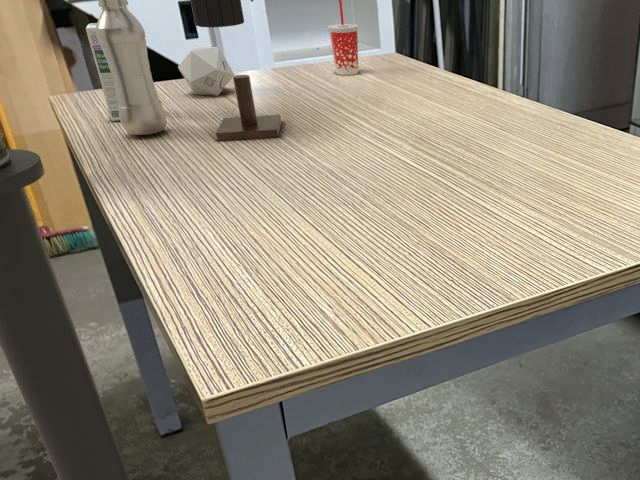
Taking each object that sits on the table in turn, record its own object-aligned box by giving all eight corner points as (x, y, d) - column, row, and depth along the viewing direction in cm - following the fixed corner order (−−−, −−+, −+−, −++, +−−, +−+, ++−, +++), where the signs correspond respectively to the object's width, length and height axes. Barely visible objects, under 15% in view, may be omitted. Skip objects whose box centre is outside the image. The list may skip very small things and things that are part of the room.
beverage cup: (366, 73, 147) (360, -2, 139) (339, 77, 144) (331, 1, 137) (355, 68, 151) (348, -4, 144) (328, 71, 149) (320, -2, 141)
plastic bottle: (177, 132, 111) (144, -10, 100) (136, 142, 107) (96, -5, 96) (157, 125, 114) (123, -13, 104) (116, 134, 110) (76, -8, 99)
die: (195, 105, 129) (221, 56, 125) (161, 75, 130) (186, 27, 127) (225, 111, 137) (249, 66, 133) (192, 83, 138) (216, 38, 134)
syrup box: (110, 122, 117) (83, 26, 109) (116, 113, 122) (91, 21, 114) (147, 119, 118) (123, 24, 110) (151, 111, 123) (129, 19, 115)
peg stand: (217, 141, 107) (206, 84, 102) (224, 125, 114) (214, 71, 110) (278, 137, 108) (269, 81, 103) (281, 122, 115) (273, 69, 111)
